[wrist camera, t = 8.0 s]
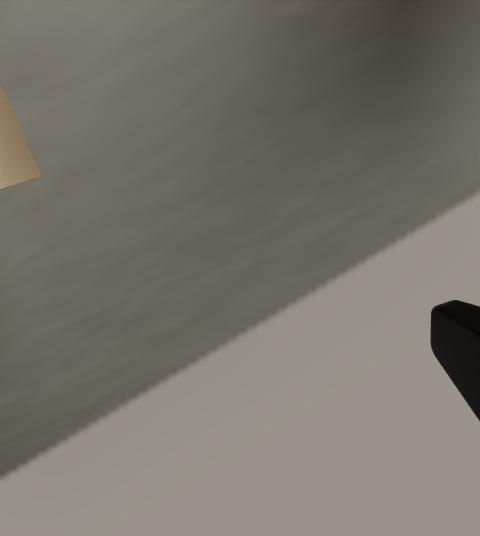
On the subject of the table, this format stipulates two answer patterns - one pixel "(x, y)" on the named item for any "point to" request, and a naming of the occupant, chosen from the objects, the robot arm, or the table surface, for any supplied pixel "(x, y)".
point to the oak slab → (14, 149)
